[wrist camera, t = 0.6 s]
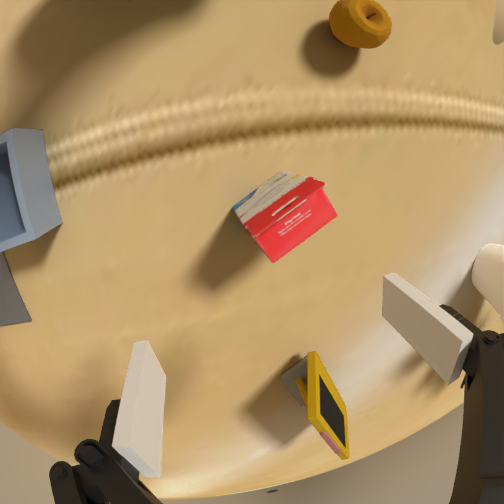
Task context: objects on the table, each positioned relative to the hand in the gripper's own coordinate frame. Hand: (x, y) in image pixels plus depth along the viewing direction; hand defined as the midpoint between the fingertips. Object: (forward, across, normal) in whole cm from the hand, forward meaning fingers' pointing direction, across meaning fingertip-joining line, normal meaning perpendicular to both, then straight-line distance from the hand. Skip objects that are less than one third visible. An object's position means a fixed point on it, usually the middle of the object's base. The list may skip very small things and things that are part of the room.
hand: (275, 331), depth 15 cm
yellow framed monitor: (+26, +8, -34) cm, 43 cm away
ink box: (+26, +6, +1) cm, 27 cm away
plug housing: (+26, -27, +13) cm, 40 cm away
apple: (+26, +22, +24) cm, 42 cm away
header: (+26, -45, +3) cm, 52 cm away
